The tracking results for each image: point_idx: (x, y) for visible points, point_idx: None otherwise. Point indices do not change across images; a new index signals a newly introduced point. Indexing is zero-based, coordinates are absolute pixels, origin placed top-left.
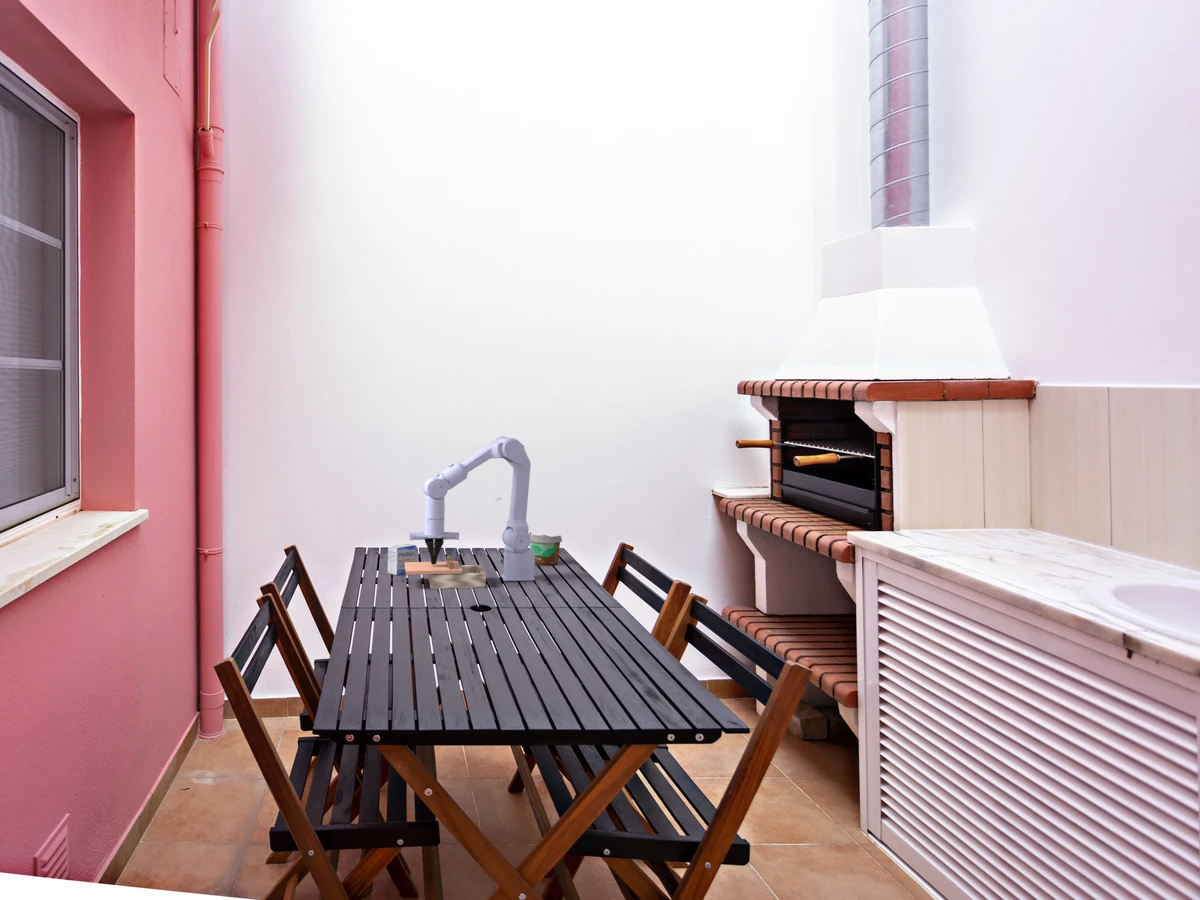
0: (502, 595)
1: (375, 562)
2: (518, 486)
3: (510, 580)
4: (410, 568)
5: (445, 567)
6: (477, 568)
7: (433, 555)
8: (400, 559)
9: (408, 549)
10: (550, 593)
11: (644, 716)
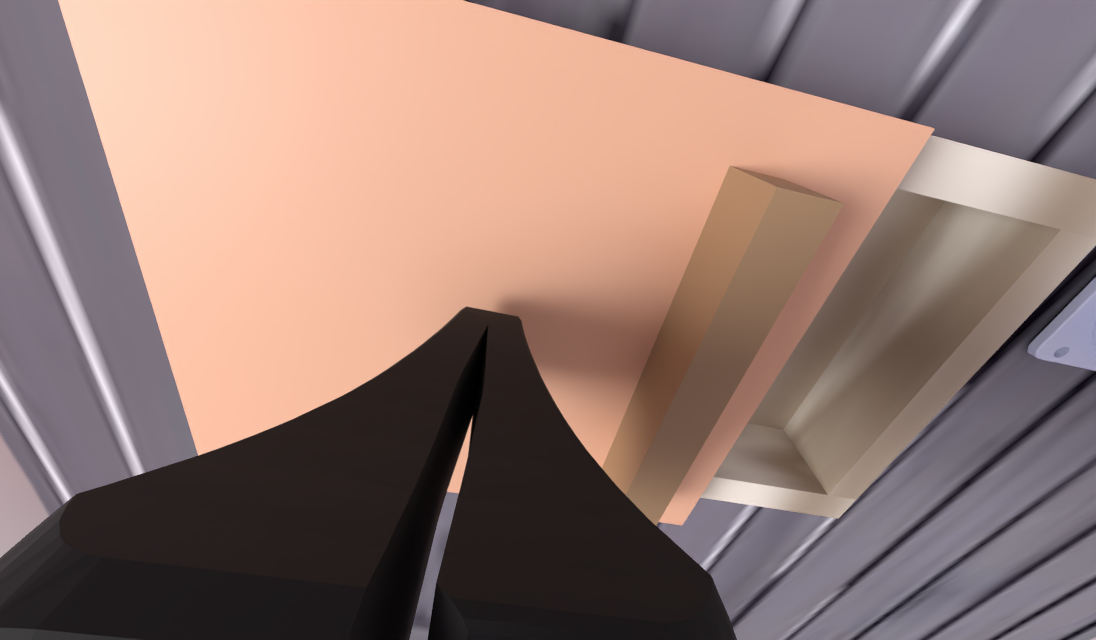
0: (755, 566)
1: None
2: None
3: (1064, 361)
4: (223, 369)
5: (591, 418)
6: (1018, 240)
7: (445, 488)
8: None
9: None
10: (963, 586)
11: None
